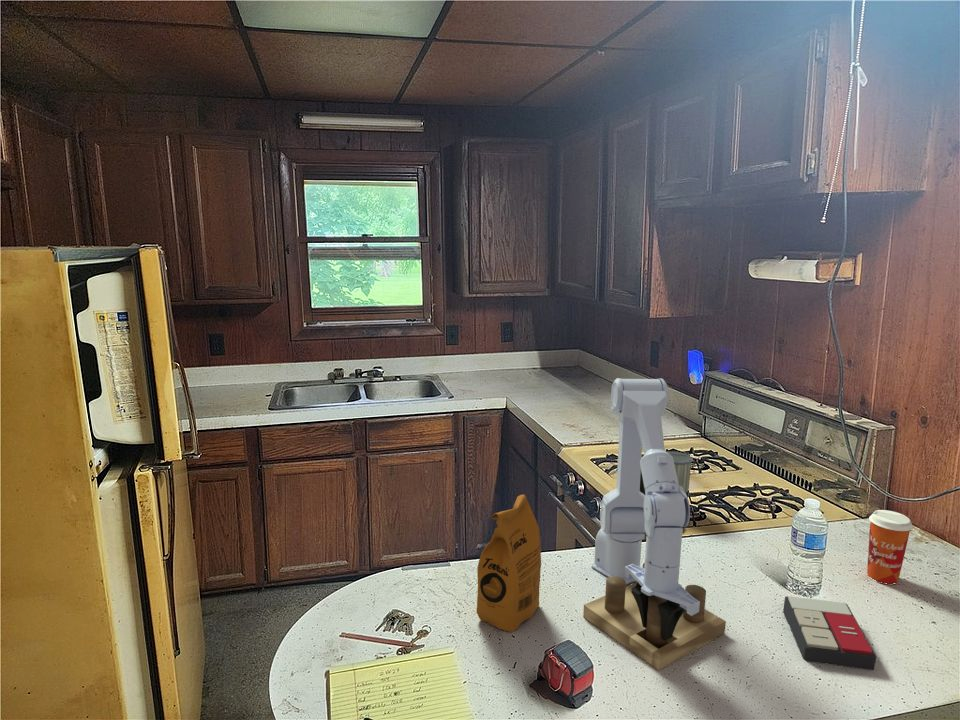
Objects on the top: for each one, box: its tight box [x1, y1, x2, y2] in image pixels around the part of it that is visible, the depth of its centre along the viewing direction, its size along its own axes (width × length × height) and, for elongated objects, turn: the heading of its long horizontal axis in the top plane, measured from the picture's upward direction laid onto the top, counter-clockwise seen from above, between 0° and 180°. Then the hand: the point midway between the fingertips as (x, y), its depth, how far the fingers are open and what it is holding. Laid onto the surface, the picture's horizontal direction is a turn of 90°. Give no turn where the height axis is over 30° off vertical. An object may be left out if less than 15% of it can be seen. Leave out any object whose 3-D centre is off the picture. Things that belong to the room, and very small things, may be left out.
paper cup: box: [866, 509, 914, 584], centre depth 133 cm, size 8×8×14 cm
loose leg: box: [646, 595, 667, 649], centre depth 110 cm, size 4×4×8 cm
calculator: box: [782, 595, 877, 671], centre depth 114 cm, size 11×4×15 cm
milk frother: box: [640, 450, 694, 498], centre depth 162 cm, size 14×16×15 cm
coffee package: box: [475, 494, 542, 633], centre depth 119 cm, size 10×12×22 cm
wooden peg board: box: [582, 562, 727, 671], centre depth 117 cm, size 18×18×8 cm
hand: (657, 631), depth 110 cm, fingers closed on loose leg, 4 cm apart
